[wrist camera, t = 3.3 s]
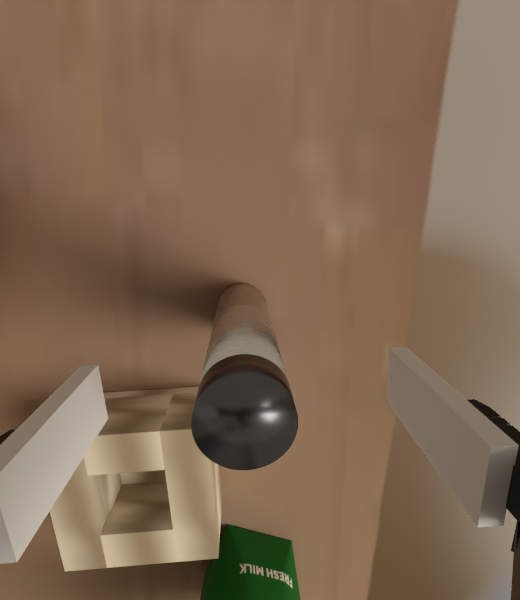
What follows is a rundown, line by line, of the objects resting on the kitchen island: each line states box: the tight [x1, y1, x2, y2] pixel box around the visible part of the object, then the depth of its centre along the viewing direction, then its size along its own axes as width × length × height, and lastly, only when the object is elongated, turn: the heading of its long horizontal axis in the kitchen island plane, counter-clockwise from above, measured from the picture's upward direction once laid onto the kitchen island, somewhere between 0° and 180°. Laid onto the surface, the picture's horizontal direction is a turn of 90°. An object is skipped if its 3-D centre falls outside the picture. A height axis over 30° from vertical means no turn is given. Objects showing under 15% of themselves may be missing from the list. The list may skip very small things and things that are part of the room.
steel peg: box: [191, 283, 298, 470], centre depth 21 cm, size 4×4×16 cm
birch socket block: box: [50, 387, 222, 571], centre depth 28 cm, size 12×12×6 cm
